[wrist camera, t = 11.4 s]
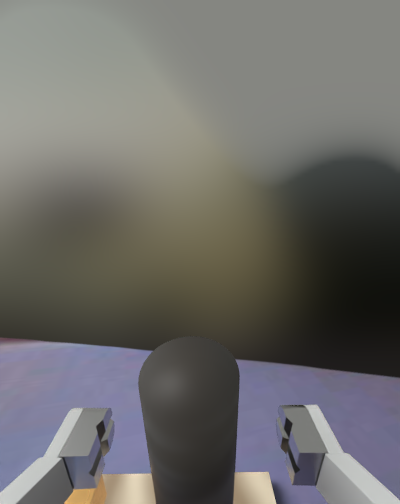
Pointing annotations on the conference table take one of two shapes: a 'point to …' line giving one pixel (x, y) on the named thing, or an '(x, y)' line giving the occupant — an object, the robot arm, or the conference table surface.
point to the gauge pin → (88, 495)
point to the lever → (191, 420)
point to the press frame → (143, 497)
